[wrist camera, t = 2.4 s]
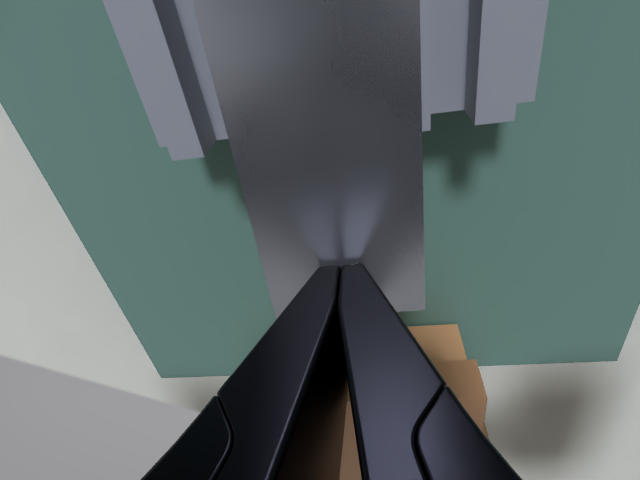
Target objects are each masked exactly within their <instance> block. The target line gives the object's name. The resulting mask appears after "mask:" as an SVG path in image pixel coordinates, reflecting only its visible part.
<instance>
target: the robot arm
mask: <svg viewBox="0 0 640 480" xmlns="http://www.w3.org/2000/svg"><path fill="white" fill-rule="evenodd" d="M348 388H349V395H350V402H351V409H352V416H353V423H354V430H355V436H356V443H357V450H358V457H359V464H360V471H361V478H362V480H522V479H521V478H520V476H519V475H518V474H517V473H516V472H515V471H514V470H513V468H512V467H511V466H510V465H509V464H508V463H507V461H506V460H505V459H504V458H503V457H502V455H501V454H500V453H499V452H498V451H497V449H496V448H495V447H494V446H493V445H492V444H491V442H490V441H489V440H488V439H487V438H486V436H485V435H484V434H483V432H482V431H481V430H480V428H479V427H478V426H477V424H476V423H475V422H474V420H473V419H472V418H471V416H470V415H469V414H468V412H467V411H466V410H465V408H464V407H463V406H462V404H461V403H460V401H459V400H458V399H457V397H456V396H455V394H454V393H453V391H452V390H451V389H450V387H447V384H446V382H445V380H444V379H443V377H442V376H441V375H440V373H439V372H438V370H437V369H436V367H435V366H434V365H433V363H432V362H431V360H430V359H429V357H428V356H427V355H426V353H425V352H424V350H423V349H422V347H421V346H420V345H419V343H418V342H417V340H416V339H415V337H414V336H413V335H412V333H411V332H410V330H409V329H408V327H407V326H406V325H405V323H404V322H403V320H402V319H401V317H400V316H399V315H398V313H397V312H396V310H395V309H394V307H393V306H392V305H391V303H390V302H389V300H388V299H387V297H386V296H385V295H384V293H383V292H382V290H381V289H380V287H379V286H378V285H377V283H376V282H375V280H374V279H373V277H372V276H371V275H370V273H369V272H368V270H367V269H366V267H365V266H364V265H363V264H361V263H358V264H346V265H343V266H342V267H341V268H340V266H338V265H334V266H322V267H319V268H318V269H317V270H316V271H315V272H314V274H313V275H312V276H311V277H310V278H309V280H308V281H307V282H306V283H305V285H304V286H303V287H302V288H301V290H300V291H299V292H298V293H297V295H296V296H295V297H294V298H293V299H292V301H291V302H290V303H289V304H288V306H287V307H286V308H285V309H284V311H283V312H282V313H281V314H280V316H279V317H278V318H277V319H276V320H275V322H274V323H273V324H272V325H271V327H270V328H269V329H268V330H267V332H266V333H265V334H264V335H263V336H262V338H261V339H260V340H259V341H258V343H257V344H256V345H255V346H254V348H253V349H252V350H251V351H250V353H249V354H248V355H247V356H246V357H245V359H244V360H243V361H242V362H241V364H240V365H239V366H238V367H237V369H236V370H235V371H234V372H233V374H232V375H231V376H230V377H229V378H228V380H227V381H226V382H225V383H224V385H223V386H222V387H221V388H220V390H219V391H218V392H217V395H218V396H214V397H213V398H212V399H211V400H210V402H209V403H208V404H207V405H206V407H205V408H204V409H203V410H202V412H201V413H200V414H199V415H198V416H197V418H196V419H195V420H194V421H193V422H192V423H191V425H190V426H189V427H188V428H187V429H186V430H185V432H184V433H183V434H182V435H181V436H180V438H179V439H178V440H177V441H176V442H175V443H174V444H173V445H172V447H171V448H170V449H169V450H168V451H167V452H166V453H165V454H164V455H163V456H162V457H161V458H160V459H159V461H158V462H157V463H156V464H155V465H154V466H153V467H152V468H151V469H150V470H149V471H148V472H147V473H146V475H145V476H144V477H143V478H142V479H141V480H339V479H340V468H341V458H342V448H343V437H344V427H345V416H346V406H347V396H348Z"/></svg>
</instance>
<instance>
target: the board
mask: <svg viewBox="0 0 640 480" xmlns="http://www.w3.org/2000/svg"><path fill="white" fill-rule="evenodd" d="M420 38H421V95H422V153H423V210H424V268H425V310H419V311H402V312H397V313H398V315H399V316H400V317H401V319H402V320H403V322H404V323H405V325H406V326H407V327H408V326H428V325H447V324H458V328H459V332H460V335H461V339H462V343H463V346H464V350H465V354H466V357H467V360H471V359H476V361H477V365H478V366H493V365H520V364H546V363H573V362H599V361H617V359H618V357H619V354H620V352H621V349H622V346H623V344H624V341H625V339H626V336H627V334H628V331H629V329H630V326H631V324H632V321H633V319H634V316H635V314H636V311H637V309H638V306H639V304H640V0H420ZM0 103H1V104H2V106H3V108H4V109H5V111H6V113H7V115H8V116H9V118H10V120H11V121H12V123H13V125H14V127H15V128H16V130H17V132H18V133H19V135H20V137H21V138H22V140H23V142H24V144H25V145H26V147H27V149H28V150H29V152H30V154H31V156H32V157H33V159H34V161H35V162H36V164H37V166H38V168H39V169H40V171H41V173H42V174H43V176H44V178H45V180H46V181H47V183H48V185H49V186H50V188H51V190H52V192H53V193H54V195H55V197H56V198H57V200H58V202H59V204H60V205H61V207H62V209H63V210H64V212H65V214H66V215H67V217H68V219H69V221H70V222H71V224H72V226H73V227H74V229H75V231H76V233H77V234H78V236H79V238H80V239H81V241H82V243H83V245H84V246H85V248H86V250H87V251H88V253H89V255H90V257H91V258H92V260H93V262H94V263H95V265H96V267H97V269H98V270H99V272H100V274H101V275H102V277H103V279H104V281H105V282H106V284H107V286H108V287H109V289H110V291H111V292H112V294H113V296H114V298H115V299H116V301H117V303H118V304H119V306H120V308H121V310H122V311H123V313H124V315H125V316H126V318H127V320H128V322H129V323H130V325H131V327H132V328H133V330H134V332H135V334H136V335H137V337H138V339H139V340H140V342H141V344H142V346H143V347H144V349H145V351H146V352H147V354H148V356H149V358H150V359H151V361H152V363H153V364H154V366H155V368H156V369H157V371H158V373H159V375H160V376H161V378H176V377H203V376H229V375H232V374H233V372H234V371H235V370H236V369H237V367H238V366H239V365H240V364H241V362H242V361H243V360H244V359H245V357H246V356H247V355H248V354H249V353H250V351H251V350H252V349H253V348H254V346H255V345H256V344H257V343H258V341H259V340H260V339H261V338H262V336H263V335H264V334H265V333H266V332H267V330H268V329H269V328H270V327H271V325H272V324H273V323H274V322H275V320H276V316H275V312H274V308H273V305H272V301H271V297H270V293H269V290H268V286H267V282H266V278H265V275H264V271H263V267H262V263H261V260H260V256H259V252H258V248H257V244H256V241H255V237H254V233H253V229H252V226H251V222H250V218H249V214H248V211H247V207H246V203H245V199H244V196H243V192H242V188H241V184H240V181H239V177H238V173H237V169H236V166H235V162H234V158H233V154H232V150H231V147H230V143H229V139H228V135H227V132H226V128H225V124H224V120H223V117H222V113H221V109H220V105H219V102H218V98H217V94H216V90H215V87H214V83H213V79H212V75H211V71H210V68H209V64H208V60H207V56H206V53H205V49H204V45H203V41H202V38H201V34H200V30H199V26H198V23H197V19H196V15H195V11H194V8H193V4H192V0H0Z"/></svg>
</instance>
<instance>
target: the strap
mask: <svg viewBox="0 0 640 480" xmlns="http://www.w3.org/2000/svg"><path fill="white" fill-rule="evenodd" d="M192 4H193V8H194V11H195V15H196V19H197V23H198V26H199V30H200V34H201V38H202V41H203V45H204V49H205V53H206V56H207V60H208V64H209V68H210V71H211V75H212V79H213V83H214V87H215V90H216V94H217V98H218V102H219V105H220V109H221V113H222V117H223V120H224V124H225V128H226V132H227V135H228V139H229V143H230V147H231V150H232V154H233V158H234V162H235V166H236V169H237V173H238V177H239V181H240V184H241V188H242V192H243V196H244V199H245V203H246V207H247V211H248V214H249V218H250V222H251V226H252V229H253V233H254V237H255V241H256V244H257V248H258V252H259V256H260V260H261V263H262V267H263V271H264V275H265V278H266V282H267V286H268V290H269V293H270V297H271V301H272V305H273V308H274V312H275V316H276V319H277V318H278V317H279V316H280V314H281V313H282V312H283V311H284V309H285V308H286V307H287V306H288V304H289V303H290V302H291V301H292V299H293V298H294V297H295V296H296V295H297V293H298V292H299V291H300V290H301V288H302V287H303V286H304V285H305V283H306V282H307V281H308V280H309V278H310V277H311V276H312V275H313V274H314V272H315V271H316V270H317V269H318V268H319V267H322V266H334V265H338V266H340V268H341V267H342V266H343V265H346V264H358V263H361V264H363V265H364V266H365V267H366V269H367V270H368V272H369V273H370V275H371V276H372V277H373V279H374V280H375V282H376V283H377V285H378V286H379V287H380V289H381V290H382V292H383V293H384V295H385V296H386V297H387V299H388V300H389V302H390V303H391V305H392V306H393V307H394V309H395V310H396V312H402V311H419V310H425V268H424V210H423V153H422V95H421V38H420V0H192Z"/></svg>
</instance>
